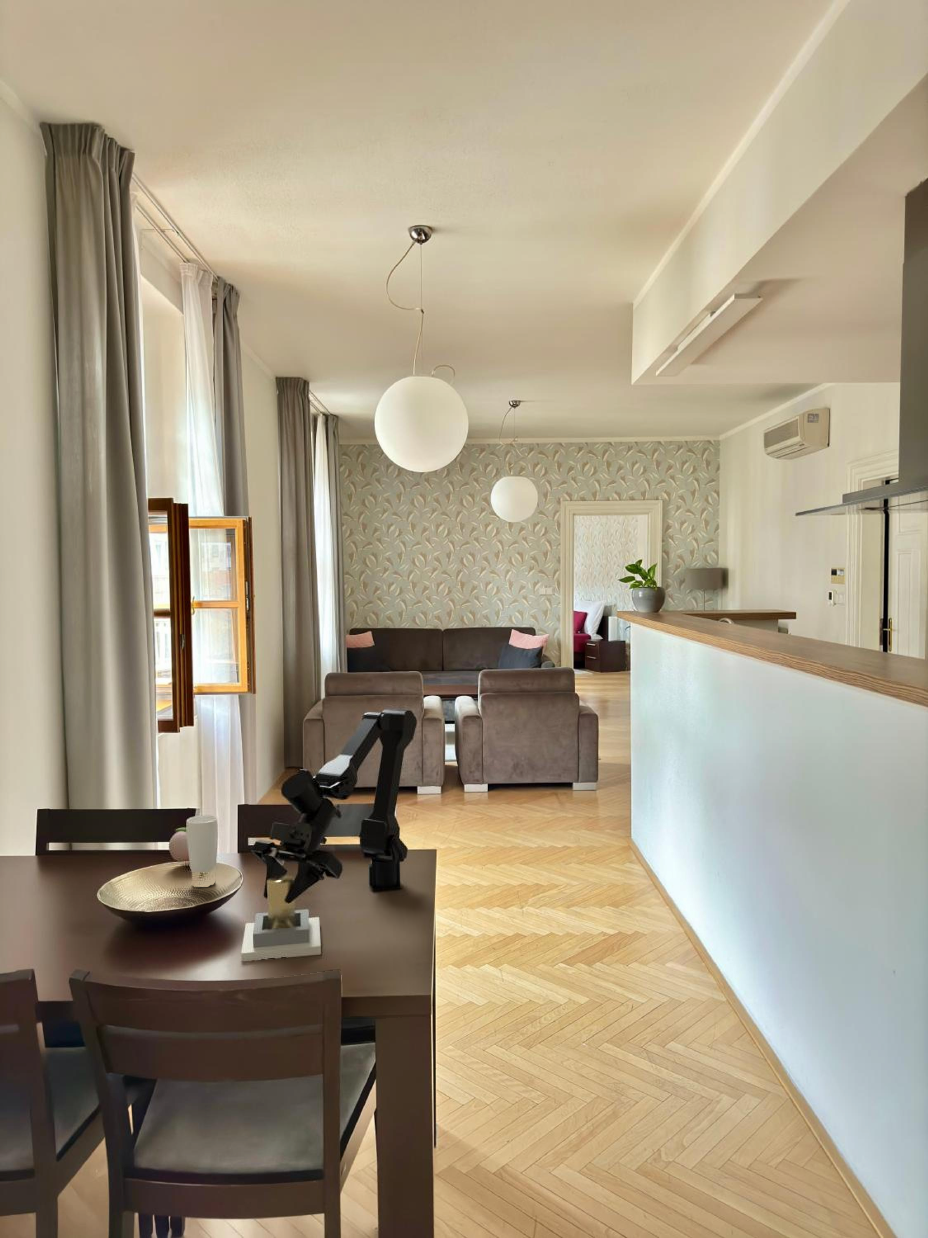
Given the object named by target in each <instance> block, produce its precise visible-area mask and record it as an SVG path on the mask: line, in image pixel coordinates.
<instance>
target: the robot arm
mask: <svg viewBox="0 0 928 1238" xmlns="http://www.w3.org/2000/svg"><path fill="white" fill-rule="evenodd" d="M417 725H418V720H417V717H416V716H415V714H414V712H413V711H412V710H409V709H398V708H397V709H394V708H386V709H385V708H384V710H382V711H381V712H380V711H379V712H378V711H368V712H364V714H363V716H362V720H361V722H360V724H359V725H358V726H357V728H356V730H355V731H354V733H353V734H352V735H351V737H350V738H349V740H348V741H347V743H346V745H344V747H343V749H342V750H341V751H340V753H339V755H338V756H337V757H335V758H334V759H332V760H330V761H328V762H327V763H325V764H324V765H323V766H322V767H321V769H319V771H318V772H317V773H316V775H314V776H313V775H312V773H311V772H310V770H308V769H304V768H303V769H301V768H300V769H299V770H298V772H297V773H296V774H293V775H291V776H290V777H288V779H286V780H285V781H284V782H283V783H282V785H281V788H280V790H281V791H280V793H281V796H282V797H283V798H284V799H285V800H286V802H288V803H289V804H290V806H292V807H293V808H294V811H296V812H297V813H299V814H302V815H301V817H300V819H299V821H293V822H292V823H291V824H285V823H280V822H273V823H272V826H271V830H270V834H269V838H268V839H269V840H271V841H268V840H264V839H258V840H256V841H255V843H254V844H253V846H252V847H251V849H250V852H251V853H252V854H253V855H254V856H256V858H258V860H260V862H262V863H263V864H264V865H265V866H266V875H265V876H266V877H265V881H264V882H265V883H264V889H263V890H264V891H263V898H265V899H267V900H268V898H267V880H268V879H269V878H271V877H274V876H280V875H286V874H288V870H287V869H286V868H285V867H284V863H285V862H288V863H292V864H293V863H294V864H297V874H296V875H295V877H294V882H293V884H292V886H291V888H290V890H289V892H288V895H287V898H286V902H287V903H291V902H292V901H293V900H295V901H296V899H297V898H298V897H299V896H301V895H302V894H303V893H304V892H306V891H307V890H308V889H309V888H311V887H312V886H314V885H315V884H317V883H318V882H320V881H324V880H325V877H326V878H331V879H335V880H339V879H340V877H341V875H342V872H343V868H344V867H343V863H342V861H340V860H339V859H338V857H336V856H335V854H334V853H333V852H331V851H328V850H327V851H326V850H321V849H319V848H320V845H326V843H327V842H328V840H327V838H326V837H325V835H326V834H327V831H328V829H329V827H330V826H331V823H332V820H333V819H334V818H335V819H342V812H341V810H340V805H339V804H337V803H333V801H332V800H336V801H337V800H338V801H345V800H348V799H349V797H351V795H353V794H352V793H353V791H354V790H355V787H356V785H357V782H358V771H359V769H360V767H361V766H362V764H363V763H364V761H365V759H366V758H367V757H368V755H369V753H370V752H371V750H372V749H373V747H374V746H375V744H376V742H377V741H378V740H379V741H380V744H381V746H382V747H381V756H380V760H379V768H378V774H377V782H376V787H375V794H374V802H373V807H372V812H371V813H370V815H369V816H368V817H367V818H363V819H362V821H361V823H360V831H359V836H358V838H359V846H360V848H361V852H362V857H363V858H364V859H369V860H370V863H368V865H367V872H368V873H367V875H368V876H367V878H368V879H367V880H368V881H367V882H368V886H369V887H371V891H372V892H376V891H377V892H378V891H379V892H380V891H390V890H393V891H394V890H401V889H402V888H403V887H402V883H401V862H403V863H404V862H405V860H406V858H407V856H408V851H409V850H408V848H409V847H408V846H407V845H406V844H405V843H404V841H403V840H401V838H400V837H401V835H400V833H401V828H400V825H399V822H398V820H397V817H396V808H397V803H398V794H399V787H400V782H401V781H400V780H401V775H402V769H403V762H404V761H403V760H404V755H405V750H406V748H407V747H408V746H409V745H410V744H411V743H412V741H413V740H414V735H415V731H416V728H417ZM274 840H275V841H279V845H280V846H281V847H283V848H284V850H283V849H282V848H280V847H279V846H278V845H277V844H276V843H275V842H274ZM324 874H325V876H324Z"/></svg>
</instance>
